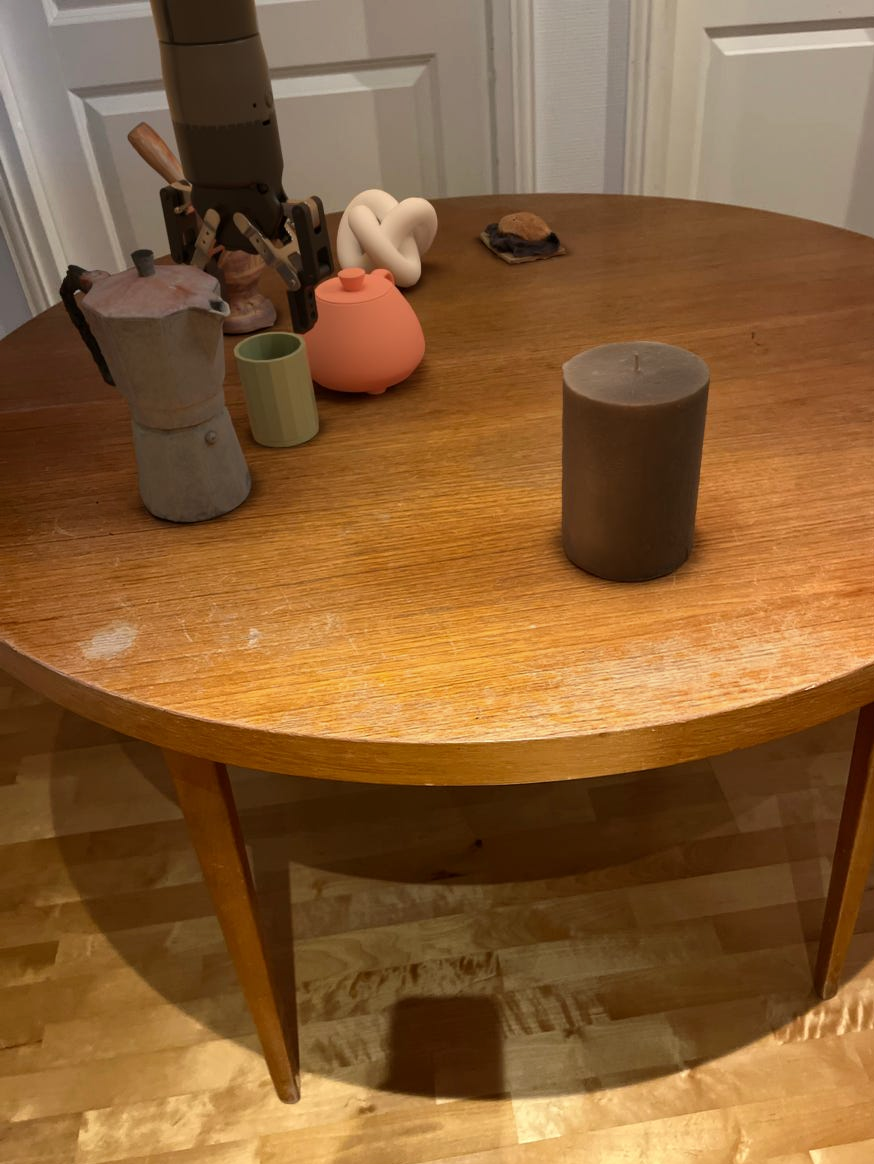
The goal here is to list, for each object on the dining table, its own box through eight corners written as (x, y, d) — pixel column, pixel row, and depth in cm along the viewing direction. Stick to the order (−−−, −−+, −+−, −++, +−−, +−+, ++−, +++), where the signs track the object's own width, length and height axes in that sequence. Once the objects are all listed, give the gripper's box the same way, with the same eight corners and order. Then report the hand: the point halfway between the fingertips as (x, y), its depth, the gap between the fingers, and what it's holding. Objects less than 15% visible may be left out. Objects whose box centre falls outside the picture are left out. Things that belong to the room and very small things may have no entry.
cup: (239, 440, 87) (219, 355, 82) (277, 410, 91) (261, 327, 86) (295, 452, 85) (278, 366, 80) (332, 421, 89) (318, 337, 84)
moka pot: (244, 542, 75) (179, 283, 62) (80, 511, 80) (-13, 264, 67) (303, 478, 82) (255, 232, 69) (149, 453, 86) (77, 218, 73)
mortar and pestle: (173, 346, 103) (118, 140, 90) (176, 314, 110) (125, 118, 97) (283, 331, 105) (244, 127, 92) (279, 301, 111) (242, 106, 98)
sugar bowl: (278, 395, 94) (258, 289, 87) (346, 336, 103) (332, 236, 97) (394, 412, 90) (381, 303, 83) (453, 349, 99) (446, 247, 93)
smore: (475, 239, 124) (473, 209, 122) (536, 228, 126) (536, 198, 124) (505, 266, 116) (504, 234, 114) (570, 254, 118) (570, 222, 116)
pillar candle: (691, 587, 68) (714, 389, 58) (552, 577, 70) (552, 383, 60) (693, 510, 75) (714, 322, 66) (567, 503, 77) (569, 318, 67)
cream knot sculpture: (414, 251, 121) (407, 174, 116) (462, 280, 113) (458, 199, 108) (331, 273, 117) (319, 194, 111) (375, 304, 109) (365, 221, 104)
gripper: (111, 112, 71) (166, 327, 82) (273, 128, 66) (309, 354, 77) (177, 89, 76) (221, 295, 87) (332, 102, 71) (358, 318, 82)
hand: (262, 323), depth 82 cm, fingers open, 8 cm apart
